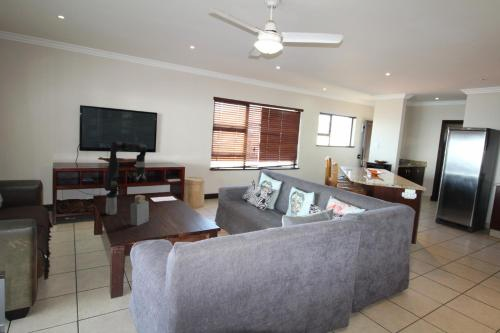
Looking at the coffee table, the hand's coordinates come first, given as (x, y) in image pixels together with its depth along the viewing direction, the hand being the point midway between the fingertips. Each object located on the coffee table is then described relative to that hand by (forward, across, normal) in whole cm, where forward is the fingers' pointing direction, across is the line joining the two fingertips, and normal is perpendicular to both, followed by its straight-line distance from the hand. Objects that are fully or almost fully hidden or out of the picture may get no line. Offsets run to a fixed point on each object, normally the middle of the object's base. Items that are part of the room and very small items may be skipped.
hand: (140, 183), depth 263 cm
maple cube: (+18, 0, 0) cm, 18 cm away
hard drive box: (+38, 0, 0) cm, 38 cm away
